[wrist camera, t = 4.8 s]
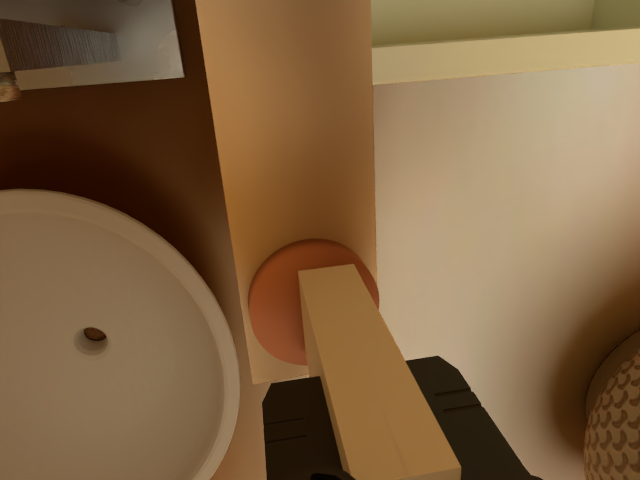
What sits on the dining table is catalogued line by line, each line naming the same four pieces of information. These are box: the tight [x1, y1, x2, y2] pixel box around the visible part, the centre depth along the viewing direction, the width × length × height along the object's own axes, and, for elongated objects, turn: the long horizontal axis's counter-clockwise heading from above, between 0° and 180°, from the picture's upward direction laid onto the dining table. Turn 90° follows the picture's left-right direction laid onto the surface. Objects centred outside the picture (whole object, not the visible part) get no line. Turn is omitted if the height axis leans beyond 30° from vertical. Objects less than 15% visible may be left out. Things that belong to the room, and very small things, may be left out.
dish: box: [0, 189, 240, 480], centre depth 22 cm, size 18×14×5 cm
